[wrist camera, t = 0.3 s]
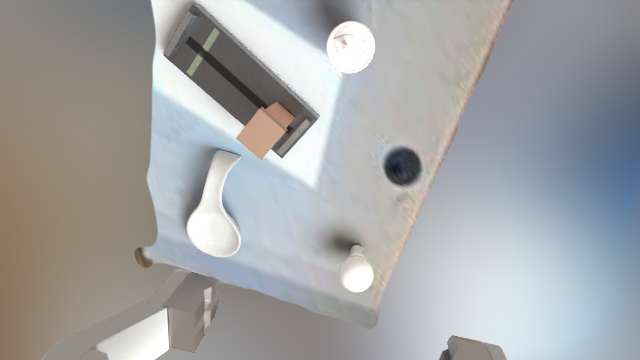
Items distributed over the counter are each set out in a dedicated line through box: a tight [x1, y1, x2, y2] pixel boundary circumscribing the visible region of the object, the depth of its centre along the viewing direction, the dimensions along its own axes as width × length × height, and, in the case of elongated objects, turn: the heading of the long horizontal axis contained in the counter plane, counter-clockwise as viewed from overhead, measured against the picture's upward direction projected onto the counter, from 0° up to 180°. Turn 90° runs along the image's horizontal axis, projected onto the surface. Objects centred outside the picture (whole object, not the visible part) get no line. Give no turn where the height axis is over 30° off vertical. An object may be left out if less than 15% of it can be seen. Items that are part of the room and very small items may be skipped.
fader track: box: [164, 4, 320, 158], centre depth 53 cm, size 26×10×4 cm, turn 48°
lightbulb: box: [339, 245, 373, 292], centre depth 60 cm, size 6×6×11 cm
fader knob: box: [236, 102, 295, 159], centre depth 49 cm, size 5×6×9 cm
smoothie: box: [326, 21, 375, 73], centre depth 43 cm, size 6×6×14 cm
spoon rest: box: [187, 150, 241, 257], centre depth 62 cm, size 24×12×7 cm, turn 167°
